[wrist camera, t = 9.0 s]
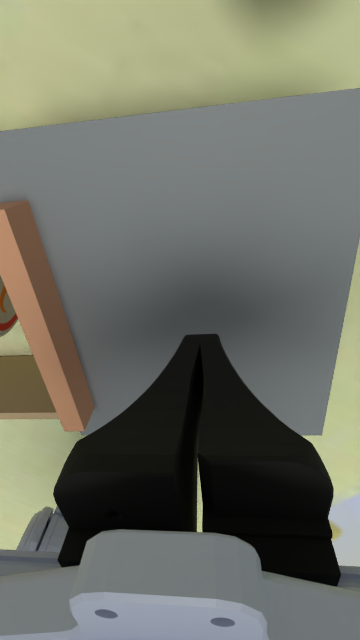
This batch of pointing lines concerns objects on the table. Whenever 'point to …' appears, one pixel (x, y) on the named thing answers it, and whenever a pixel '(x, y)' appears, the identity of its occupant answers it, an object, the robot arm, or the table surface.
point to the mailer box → (23, 390)
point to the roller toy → (6, 311)
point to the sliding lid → (185, 248)
